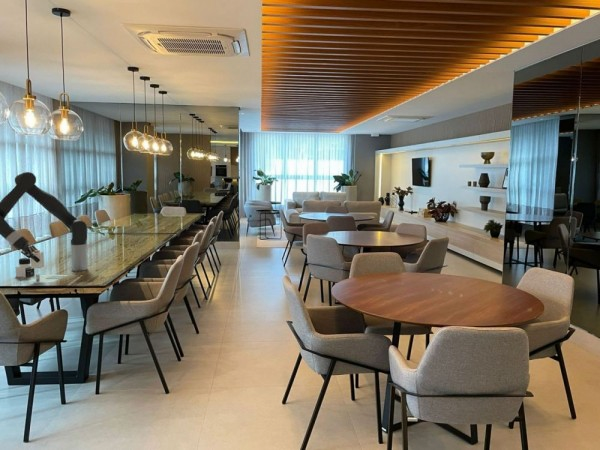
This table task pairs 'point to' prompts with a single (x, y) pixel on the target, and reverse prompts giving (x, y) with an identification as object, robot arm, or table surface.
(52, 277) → the post board
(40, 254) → the white bottle
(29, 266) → the medicine bottle
